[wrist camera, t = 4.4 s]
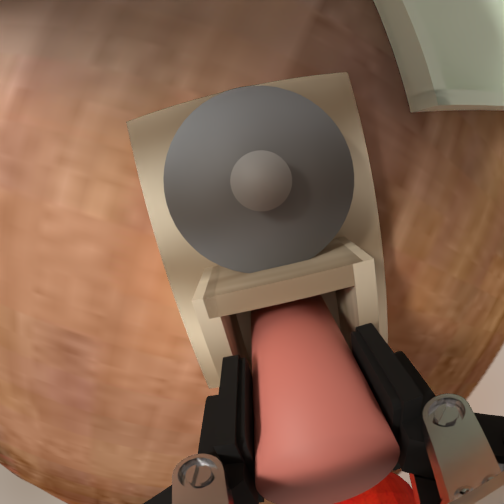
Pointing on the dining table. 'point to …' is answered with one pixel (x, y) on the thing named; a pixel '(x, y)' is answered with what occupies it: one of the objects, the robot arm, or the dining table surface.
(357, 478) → the pin
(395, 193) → the dining table surface
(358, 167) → the beige dial holder
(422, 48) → the tray
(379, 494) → the apple
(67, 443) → the dining table surface
